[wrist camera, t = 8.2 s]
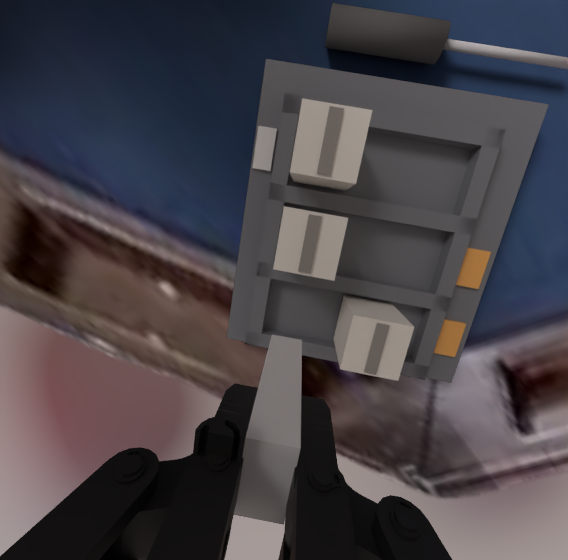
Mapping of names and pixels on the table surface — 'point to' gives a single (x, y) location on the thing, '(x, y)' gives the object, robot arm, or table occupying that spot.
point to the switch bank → (384, 211)
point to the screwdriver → (412, 38)
